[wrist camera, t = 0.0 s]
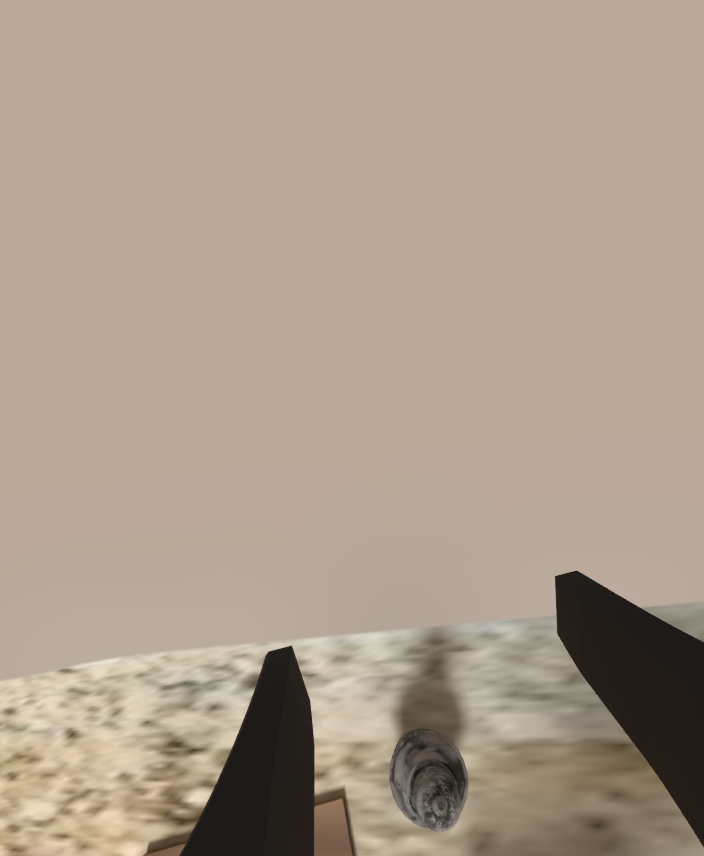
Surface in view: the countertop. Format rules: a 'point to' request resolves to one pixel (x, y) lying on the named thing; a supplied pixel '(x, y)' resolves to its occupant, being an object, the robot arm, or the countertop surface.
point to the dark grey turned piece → (429, 779)
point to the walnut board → (328, 832)
